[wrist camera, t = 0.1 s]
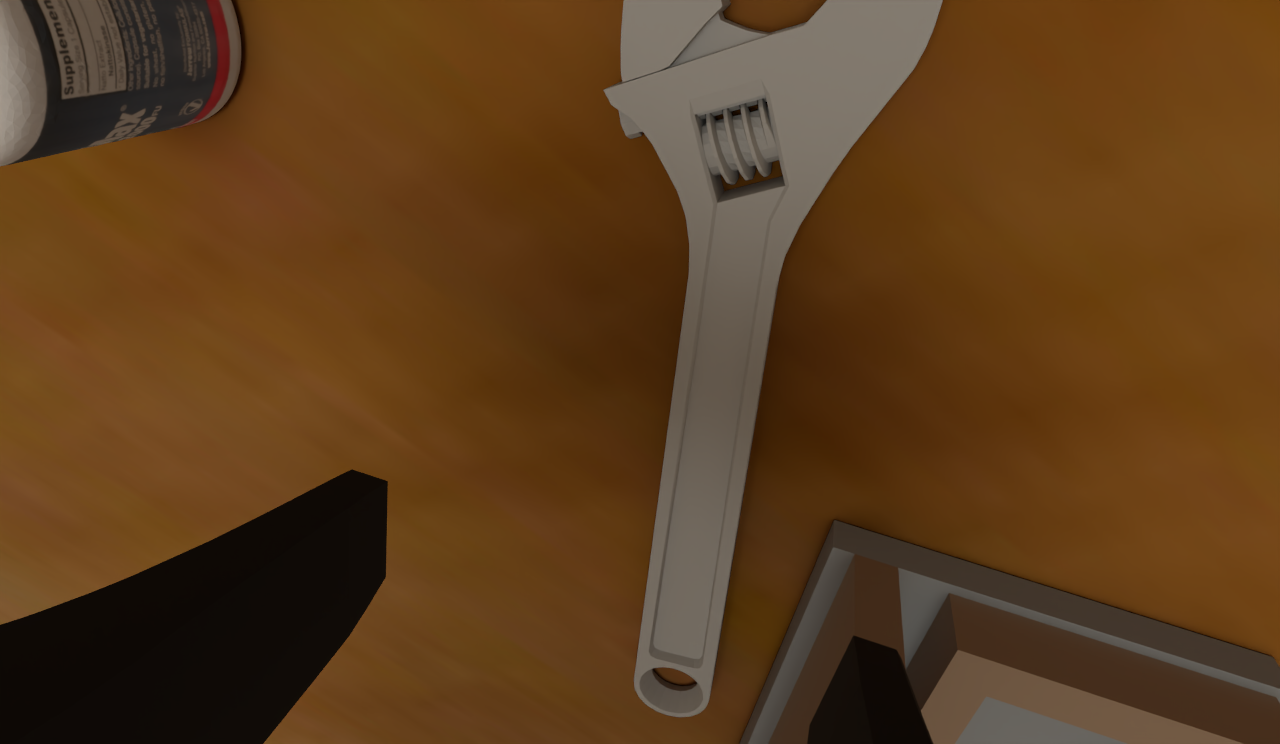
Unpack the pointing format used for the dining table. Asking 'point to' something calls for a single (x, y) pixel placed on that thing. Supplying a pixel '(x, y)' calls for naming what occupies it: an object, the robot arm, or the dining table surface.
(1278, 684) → the stand
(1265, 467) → the dining table surface
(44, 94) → the pill bottle
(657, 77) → the adjustable wrench
